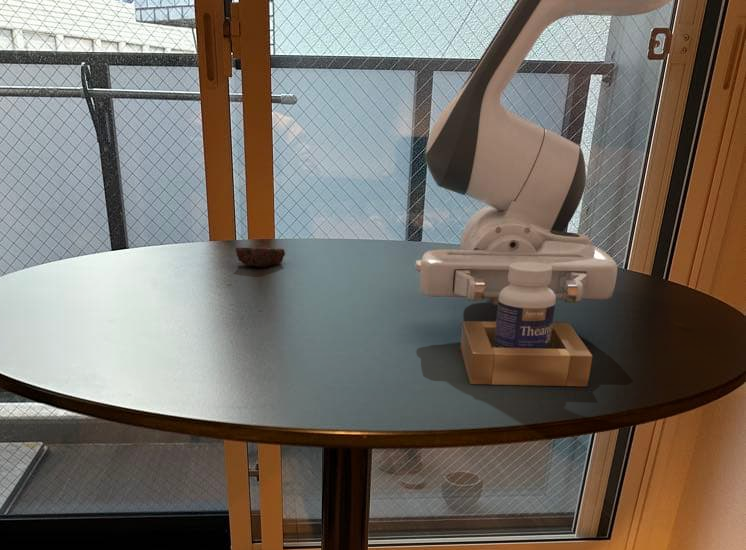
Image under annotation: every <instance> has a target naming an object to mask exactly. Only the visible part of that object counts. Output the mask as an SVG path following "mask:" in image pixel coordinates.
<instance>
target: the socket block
mask: <svg viewBox="0 0 746 550" xmlns="http://www.w3.org/2000/svg"><path fill="white" fill-rule="evenodd" d="M461 325H462V326H461V339H460V352H461V355H462V359H463V363H464V366H465V370H466V374H467V377H468V378H467V379H468V381H469V385H494V386H495V385H496V386H535V387H536V386H539V387H541V386H542V387H579V388H581V387H585V388H586V387H588V386H589V380H590V374H591V368H592V362H593V355H592V353H591V352H590V350H589V349H588V347H587V346H586V345H585V343H584V342H583V341H582V339H581V338H580V336H579V335H578V334H577V332H576V331H575V329H574V328H573V326H572V325H571V323H570V322H552V330H551V337H550V343H549V349H542V348H494V347H493V346H494V336H495V327H496V321H488V320H487V321H485V320H483V321H482V320H463V321H462V324H461Z"/></svg>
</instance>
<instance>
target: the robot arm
mask: <svg viewBox="0 0 746 550" xmlns="http://www.w3.org/2000/svg"><path fill="white" fill-rule="evenodd" d="M672 1H673V0H516V1H515V3H514V4H513V6H512V8H511V9H510V11H509V12H508V14H507V16H506V17H505V18H504V20H503V22H502V23H501V25H500V27H499V28H498V29H497V31H496V33H495V34H494V36H493V38H492V39H491V41H490V43H489V44H488V46H487V47H486V49H485V50H484V52H483V54H482V55H481V56H480V58H479V60H478V61H477V63H476V65H475V66H474V68H473V70H472V72H471V73H470V74H469V76H468V77H467V79H466V81H465V82H464V84H463V85H462V87H461V89H460V90H459V91H458V93H457V94H456V95H455V96H454V97H453V99H452V100H451V101H450V102H449V103H448V104H447V105H446V107H445V108H444V109H443V110H442V111H441V113H440V114H439V116H438V118H437V119H436V121H435V123H434V124H433V126H432V128H431V130H430V133H429V135H428V138H427V143H426V148H425V151H424V158H425V162H426V165H427V168H428V170H429V173H430V175H431V176H432V179H433V180H434V182H435V184H436V185H437V187H440V188H443V189H445V190H448V191H450V192H453V193H456V194H459V195H462V196H465V195H466V196H468V197H470V198H472V199H474V200H476V201H478V202H480V203H483V204H484V205H487V206H485V207H482V208H480V209H478V210H477V211H475V212H474V213H473V214H472V215H471V216H470V217H469V218H468V220H467V222H466V223H465V226H464V228H463V230H462V232H461V237H460V242H459V243H460V244H459V249H449V248H448V249H447V248H446V249H445V248H443V249H442V248H441V249H431V250H427V251H426V252H424V254H422V255H423V256H422V257H421V259H416V260H415V263H414V269H415V271H416V272H417V273H419V289H418V290H419V293H420V294H421V295H423V296H426V297H431V298H467V300H468V301H485V302H487V303H490V304H492V305H496V306H498V299H499V294H500V292H501V290H502V289H503V288H505V287H507V286H510V282H509V281H508V274H509V266H510V265H511V264H512V263H517V262H537V263H543V264H547V265H550V266H551V267H552V276H551V283H550V284H548V288H549V289H551V290H552V291H553V292H554V294H555V296H556V300H563V301H564V302H565V303H580V302H581V301H583V300H585V301H586V300H588V301H606V300H609V299H611V298H612V297H613V294H614V291H615V287H616V283H617V282H616V281H617V276H618V264H617V262H616V261H615V260H614V258H612V257H611V256H610V255H609V254H608V253H607V252H605V251H604V250H603V249H601V248H599V247H598V246H595V245H592V244H591V239H590V237H589V236H588V235H586V234H583V233H577V232H569V231H565V229H566V228H567V226H568V225H569V224H570V222H571V220H572V218H573V217H574V215H575V213H576V211H577V209H578V207H579V205H580V204H581V200H582V198H583V195H584V192H585V190H586V189H585V188H586V184H587V171H586V170H587V169H586V161H585V160H586V159H585V156H584V154H583V153H584V152H583V150H582V148H581V146H580V144H578V143H576V142H573V141H571V140H570V139H568V138H566V137H564V136H562V135H560V134H558V133H556V132H554V131H552V130H549V129H548V128H546V127H543V126H540V125H538V124H537V123H534V122H532V121H530V120H529V119H526V118H524V117H522V116H520V115H519V114H516V113H514V112H512V111H509V110H508V109H506V108H505V107H504V106H503V105H502V103H501V96H502V94H503V93H504V92H505V90H506V88H507V86H508V85H509V83H511V81H512V79H513V78H514V76H515V74H516V73H517V71H518V70H519V69H520V67H521V65H522V64H523V63H524V61H525V59H526V58H527V56H528V55H529V53H530V52H531V51H532V48H533V47H534V45H535V44H536V43H537V41H538V40H539V38H540V37H541V35H542V34H543V32H544V31H545V30H546V29H548V27H549V26H551V25H552V24H554V23H555V22H557V21H559V20H561V19H565V18H567V17H574V16H602V17H629V16H631V17H632V16H637V15H638V16H639V15H644V14H647V13H651V12H653V11H655V10H658V9H660V8H662V7H664V6H666V5H667V4H669V3H670V2H672Z"/></svg>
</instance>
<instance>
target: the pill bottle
mask: <svg viewBox="0 0 746 550" xmlns="http://www.w3.org/2000/svg"><path fill="white" fill-rule="evenodd" d="M551 276H552V267H551V266H550V265H547V264H543V263H537V262H517V263H512V264H511V265H510V266H509V274H508V281H509V282H510V286H507V287H505V288H503V289H502V290H501V292H500V294H499V299H498V305H497V309H496V318H495V319H496V320H495V322H496V327H495V336H494V346H493V347H494V348H542V349H549V343H550V337H551V330H552V323H554V322H553V321H554V314H555V309H556V302H557V301H556V300H557V299H556V296H555V294H554V292H553V291H552V290H551V289H549V288H548V284H550V283H551Z"/></svg>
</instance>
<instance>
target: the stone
mask: <svg viewBox="0 0 746 550" xmlns="http://www.w3.org/2000/svg"><path fill="white" fill-rule="evenodd" d="M235 252H236V256H237V260H238V262H241V263H242V264H243V265H245V266H247V267H249V266H253V267H257V268H261V267H262V268H264V267H269V266H273V265H274V266H275V265H279V264H280V263H283V260H284V257H285V255H286V252H285V249H284V248H273V247H272V248H271V247H270V248H269V247H249V246H248V247H235Z"/></svg>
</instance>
